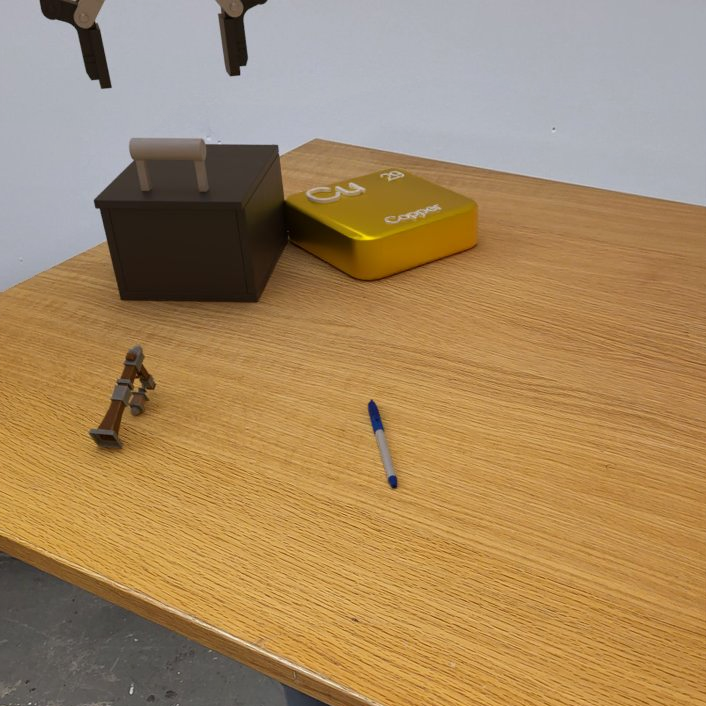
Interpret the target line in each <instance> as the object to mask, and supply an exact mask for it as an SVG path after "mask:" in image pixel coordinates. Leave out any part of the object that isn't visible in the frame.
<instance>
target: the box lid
mask: <svg viewBox="0 0 706 706" xmlns="http://www.w3.org/2000/svg"><path fill="white" fill-rule="evenodd" d="M279 148H280V147H279V144H241V143H240V144H239V143H237V144H235V143H234V144H233V143H231V144H230V143H206V142H205V139H204V138H198V137H196V138H195V137H194V138H193V137H190V138H189V137H131V138H130V139H129V142H128V151H129V156H130V158H131V159H132V162H130V163H129V164H128V166H127V167H125V169H123V170H122V171H121V172H120V173H119V174H118V175H117V176H116V177H115V178H114V179H113V180H112V181H111V182H110V183H109V184H108V185H107V186H106V187H105V188H104V189H103V190H102V191H101V192H100V193H98V194H97V196H96V197H95V198H94V199H93V204H94V208H95V209H96V210H97V209H99V210H100V209H166V210H243V208H244V207H245V205H246V203H247V202H248V200H249V199H250V197H251V196H252V194H253V192H254V191H255V189H256V188H257V186H258V185H259V183H260V181H261V180H262V178H263V177H264V175H265V174H266V172H267V170H268V169H269V167H270V166H271V164H272V163H273V161H274V159H275V158H276V156H277V155H278V154H280V149H279Z"/></svg>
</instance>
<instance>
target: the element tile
mask: <svg viewBox="0 0 706 706" xmlns="http://www.w3.org/2000/svg"><path fill="white" fill-rule="evenodd" d="M284 200H285V209H286V218H287V227H288V235H289V241H291V243H293V244H294V245H296V246H298V247H300V248H302V249H304V250H305V251H307V252H308V253H311V254H312V255H313V256H316V257H317V258H319V259H321V260H323V261H324V262H326V263H328V264H330V265H331V266H333V267H334V268H336V269H337V270H340V271H342V272H343V273H345V274H347V275H348V276H350V277H352V278H355V279H356V280H361V281H376V280H379V279H383V278H386V277H387V278H388V277H390V276H393V275H395V274H399V273H402V272H405V271H408V270H410V269H414V268H417V267H420V266H422V265H425V264H428V263H431V262H434V261H437V260H440V259H443V258H446V257H449V256H453V255H455V254H457V253H461V252H464V251H466V250H469V249H471V248H473V247H474V246H475V245H477V244H478V239H479V203H478V202H477V201H476V200H474V199H473V198H470V197H468V196H467V195H464V194H462V193H460V192H457V191H454V190H452V189H450V188H447V187H445V186H442V185H440V184H438V183H435V182H433V181H430V180H428V179H426V178H423V177H421V176H418V175H417V174H413V173H412V172H410V171H407V170H403V169H400V168H396V167H394V168H387V169H383V170H379V171H376V172H372V173H369V174H364V175H360V176H357V177H353V178H349V179H346V180H345V179H344V180H342V181H338V182H335V183H334V182H333V183H331V184H330V183H329V184H326V185H323V186H319V187H313V188H310V189H308V190H304V191H301V192H297V193H293V194H289V195H287V196H286V198H285V199H284Z"/></svg>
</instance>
